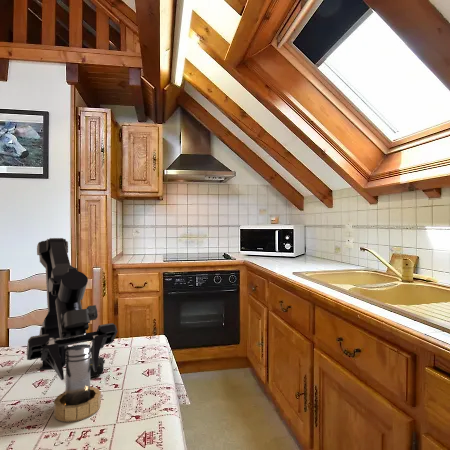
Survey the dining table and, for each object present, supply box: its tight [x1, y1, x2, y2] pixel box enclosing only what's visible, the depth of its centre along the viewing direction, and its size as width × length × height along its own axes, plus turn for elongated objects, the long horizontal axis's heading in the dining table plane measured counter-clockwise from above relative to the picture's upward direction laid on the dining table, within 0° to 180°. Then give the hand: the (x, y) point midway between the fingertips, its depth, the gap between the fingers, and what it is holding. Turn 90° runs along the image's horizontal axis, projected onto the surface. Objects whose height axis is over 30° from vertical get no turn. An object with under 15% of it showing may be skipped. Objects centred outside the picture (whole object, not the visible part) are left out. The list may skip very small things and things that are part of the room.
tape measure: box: [90, 356, 106, 378], centre depth 88 cm, size 7×7×4 cm
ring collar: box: [53, 386, 102, 423], centre depth 70 cm, size 9×9×3 cm
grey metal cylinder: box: [65, 343, 92, 406], centre depth 71 cm, size 5×5×13 cm
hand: (79, 375), depth 69 cm, fingers open, 6 cm apart
